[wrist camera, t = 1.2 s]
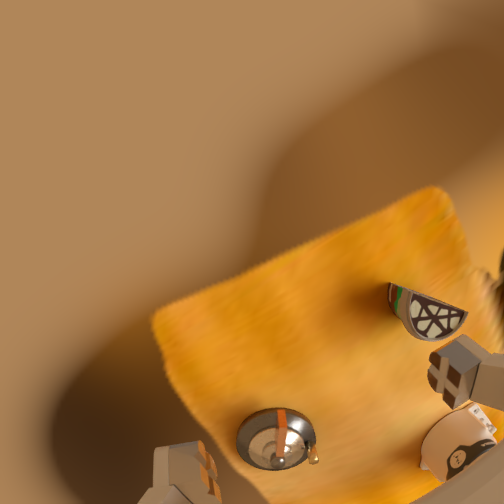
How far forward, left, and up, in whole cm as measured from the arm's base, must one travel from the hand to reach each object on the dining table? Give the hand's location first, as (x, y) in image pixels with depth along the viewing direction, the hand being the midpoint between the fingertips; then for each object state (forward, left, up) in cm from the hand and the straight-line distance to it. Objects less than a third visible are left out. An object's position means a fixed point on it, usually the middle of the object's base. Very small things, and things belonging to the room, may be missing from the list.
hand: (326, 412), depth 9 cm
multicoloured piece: (-17, +24, -37) cm, 47 cm away
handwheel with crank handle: (-18, +26, -39) cm, 50 cm away
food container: (-23, -6, -39) cm, 46 cm away
